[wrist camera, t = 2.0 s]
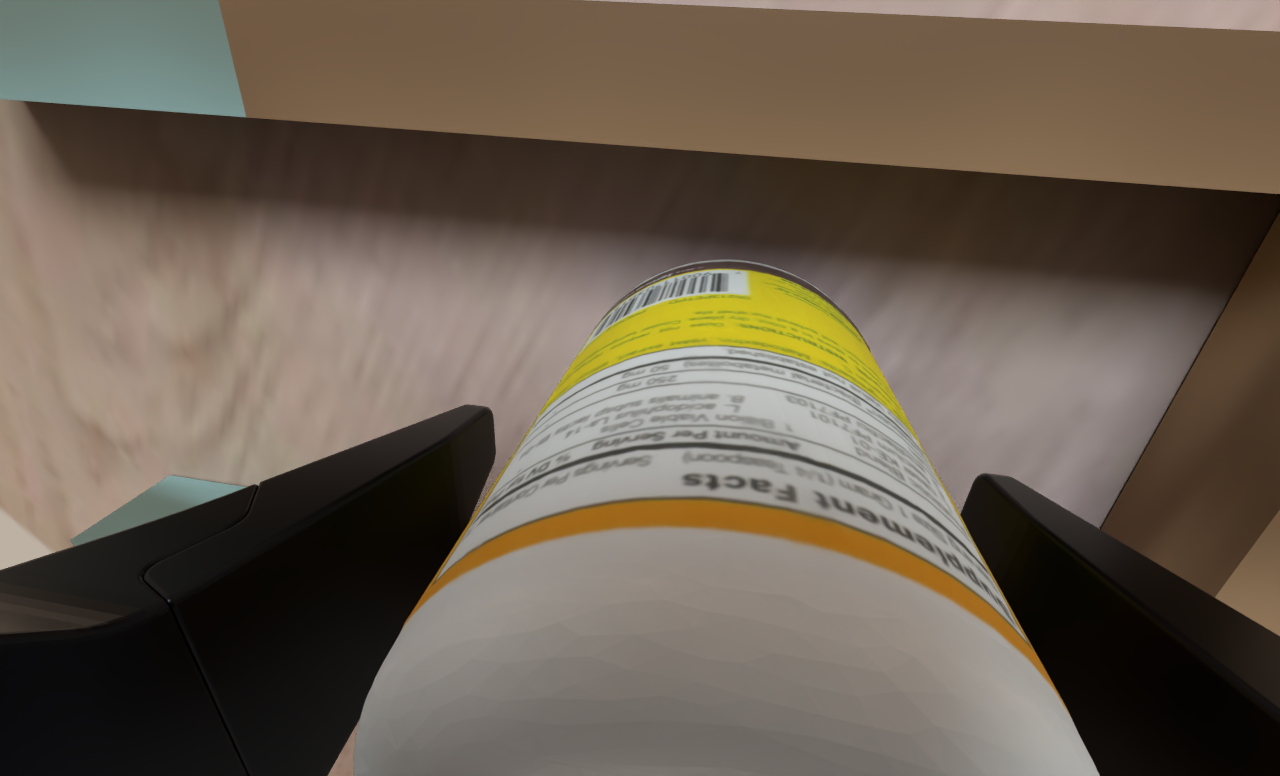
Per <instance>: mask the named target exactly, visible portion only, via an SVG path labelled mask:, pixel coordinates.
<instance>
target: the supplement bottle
mask: <svg viewBox="0 0 1280 776" xmlns="http://www.w3.org/2000/svg"><path fill="white" fill-rule="evenodd" d="M354 776H1100V775H1099V773H1098V771H1097V769H1096V767H1095V764H1094V762H1093V760H1092V758H1091V757H1090V755H1089V753H1088V751H1087V749H1086V747H1085V745H1084V743H1083V741H1082V739H1081V737H1080V735H1079V733H1078V731H1077V729H1076V727H1075V725H1074V723H1073V720H1072V718H1071V716H1070V714H1069V712H1068V710H1067V707H1066V706H1065V704H1064V702H1063V700H1062V699H1061V697H1060V695H1059V693H1058V691H1057V690H1056V688H1055V686H1054V684H1053V683H1052V681H1051V679H1050V677H1049V675H1048V674H1047V672H1046V670H1045V668H1044V667H1043V665H1042V663H1041V661H1040V659H1039V658H1038V656H1037V654H1036V652H1035V651H1034V649H1033V647H1032V645H1031V644H1030V642H1029V640H1028V638H1027V636H1026V635H1025V633H1024V631H1023V629H1022V627H1021V626H1020V624H1019V622H1018V620H1017V618H1016V617H1015V615H1014V613H1013V611H1012V609H1011V607H1010V606H1009V604H1008V602H1007V600H1006V598H1005V597H1004V595H1003V593H1002V591H1001V589H1000V588H999V586H998V584H997V582H996V580H995V579H994V577H993V575H992V573H991V571H990V570H989V568H988V566H987V564H986V562H985V561H984V559H983V557H982V555H981V553H980V552H979V550H978V548H977V546H976V545H975V543H974V541H973V539H972V537H971V535H970V533H969V531H968V529H967V527H966V525H965V523H964V521H963V519H962V517H961V516H960V514H959V512H958V510H957V508H956V506H955V504H954V503H953V501H952V499H951V497H950V496H949V494H948V492H947V490H946V489H945V487H944V485H943V483H942V482H941V480H940V478H939V476H938V475H937V473H936V471H935V469H934V468H933V466H932V464H931V462H930V460H929V459H928V457H927V455H926V453H925V451H924V449H923V447H922V446H921V444H920V442H919V440H918V438H917V436H916V434H915V433H914V431H913V429H912V427H911V425H910V423H909V421H908V419H907V417H906V416H905V414H904V412H903V410H902V408H901V406H900V405H899V403H898V401H897V400H896V398H895V396H894V394H893V392H892V390H891V388H890V387H889V385H888V383H887V381H886V379H885V377H884V376H883V374H882V372H881V370H880V368H879V367H878V365H877V363H876V361H875V359H874V357H873V356H872V354H871V351H870V349H869V347H868V345H867V343H866V342H865V340H864V339H863V337H862V335H861V334H860V332H859V331H858V329H857V327H856V326H855V325H854V324H853V322H852V321H851V320H850V319H849V317H848V316H847V315H846V314H845V313H844V312H843V310H842V309H841V308H840V307H839V306H838V305H837V304H836V303H835V302H834V301H833V300H832V299H831V298H829V297H828V296H827V295H826V294H824V293H823V292H822V291H821V290H819V289H818V288H817V287H815V286H814V285H812V284H810V283H809V282H807V281H806V280H804V279H802V278H800V277H798V276H796V275H794V274H792V273H789V272H787V271H784V270H782V269H779V268H776V267H772V266H769V265H765V264H761V263H756V262H751V261H743V260H729V259H725V260H708V261H700V262H694V263H689V264H685V265H681V266H678V267H674V268H672V269H669V270H667V271H664V272H662V273H659V274H657V275H655V276H653V277H651V278H649V279H647V280H645V281H644V282H642V283H641V284H639V285H637V286H636V287H635V288H633V289H632V290H631V291H630V292H628V293H627V294H626V295H625V296H623V297H622V298H621V299H620V300H619V301H618V302H617V303H616V304H615V305H614V306H613V307H612V308H611V309H610V310H609V311H608V312H607V314H606V315H605V316H604V317H603V318H602V320H601V321H600V323H599V324H598V325H597V326H596V328H595V329H594V331H593V332H592V334H591V335H590V337H589V338H588V340H587V341H586V343H585V344H584V346H583V347H582V349H581V350H580V352H579V354H578V355H577V357H576V358H575V360H574V361H573V363H572V364H571V366H570V367H569V369H568V370H567V372H566V374H565V375H564V377H563V378H562V380H561V381H560V383H559V384H558V386H557V387H556V389H555V390H554V392H553V394H552V395H551V397H550V398H549V400H548V401H547V403H546V404H545V406H544V407H543V409H542V410H541V412H540V414H539V415H538V417H537V418H536V420H535V421H534V423H533V424H532V426H531V427H530V429H529V430H528V432H527V434H526V435H525V437H524V439H523V440H522V442H521V443H520V445H519V446H518V448H517V449H516V451H515V452H514V454H513V455H512V457H511V459H510V460H509V462H508V463H507V465H506V466H505V468H504V469H503V471H502V472H501V474H500V475H499V477H498V478H497V480H496V481H495V483H494V485H493V486H492V488H491V489H490V491H489V492H488V494H487V495H486V497H485V499H484V500H483V502H482V503H481V505H480V506H479V508H478V510H477V511H476V513H475V514H474V516H473V517H472V519H471V521H470V522H469V524H468V525H467V527H466V528H465V530H464V531H463V533H462V535H461V536H460V538H459V539H458V541H457V542H456V544H455V546H454V547H453V549H452V550H451V552H450V553H449V555H448V556H447V558H446V560H445V561H444V563H443V564H442V566H441V567H440V569H439V570H438V572H437V574H436V575H435V577H434V578H433V580H432V581H431V583H430V584H429V586H428V588H427V589H426V591H425V592H424V594H423V595H422V597H421V599H420V600H419V602H418V603H417V605H416V607H415V608H414V610H413V611H412V613H411V614H410V616H409V617H408V619H407V620H406V622H405V623H404V625H403V628H402V630H401V632H400V634H399V636H398V638H397V639H396V641H395V643H394V645H393V646H392V648H391V650H390V652H389V653H388V655H387V657H386V658H385V660H384V662H383V664H382V666H381V667H380V669H379V671H378V673H377V675H376V677H375V679H374V682H373V685H372V687H371V689H370V691H369V693H368V695H367V697H366V700H365V703H364V706H363V709H362V713H361V717H360V721H359V725H358V729H357V733H356V738H355V749H354Z"/></svg>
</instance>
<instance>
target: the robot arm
mask: <svg viewBox="0 0 1280 776" xmlns="http://www.w3.org/2000/svg"><path fill="white" fill-rule="evenodd" d="M495 454H496V447H495V433H494V419H493V414H492V411H491V410H490V409H489V408H488V407H484V406H476V405H463V406H461V407H458V408H455V409H453V410H450V411H447V412H445V413H442V414H439V415H437V416H434V417H431V418H429V419H426V420H423V421H421V422H418V423H416V424H413V425H410V426H408V427H405V428H402V429H400V430H397V431H394V432H392V433H389V434H386V435H384V436H381V437H378V438H376V439H373V440H371V441H368V442H365V443H363V444H360V445H357V446H355V447H352V448H349V449H347V450H344V451H341V452H339V453H336V454H333V455H331V456H328V457H326V458H323V459H320V460H318V461H315V462H312V463H310V464H307V465H304V466H302V467H299V468H296V469H294V470H291V471H288V472H286V473H283V474H281V475H278V476H275V477H273V478H270V479H267V480H265V481H262V482H260V484H259V486H258V485H255V484H254V485H251V486H248V487H246V488H243V489H240V490H238V491H235V492H233V493H230V494H227V495H224V496H222V497H219V498H216V499H213V500H211V501H208V502H205V503H202V504H200V505H197V506H194V507H191V508H189V509H186V510H183V511H180V512H177V513H174V514H171V515H168V516H165V517H162V518H159V519H156V520H153V521H150V522H147V523H144V524H141V525H138V526H135V527H132V528H129V529H126V530H123V531H120V532H117V533H114V534H111V535H108V536H104V537H101V538H98V539H95V540H92V541H89V542H86V543H83V544H80V545H77V546H74V547H70V548H67V549H64V550H61V551H58V552H55V553H52V554H49V555H46V556H43V557H40V558H37V559H33V560H30V561H27V562H24V563H21V564H18V565H15V566H12V567H9V568H5V569H2V570H0V776H328V774H329V772H330V770H331V769H332V767H333V765H334V763H335V761H336V760H337V758H338V756H339V754H340V753H341V751H342V749H343V747H344V746H345V744H346V742H347V740H348V739H349V737H350V735H351V733H352V732H353V730H354V728H355V726H356V724H357V723H358V721H359V719H360V717H361V713H362V709H363V706H364V703H365V700H366V697H367V695H368V693H369V691H370V689H371V687H372V685H373V682H374V679H375V677H376V675H377V673H378V671H379V669H380V667H381V666H382V664H383V662H384V660H385V658H386V657H387V655H388V653H389V652H390V650H391V648H392V646H393V645H394V643H395V641H396V639H397V638H398V636H399V634H400V632H401V630H402V628H403V625H404V623H405V622H406V620H407V619H408V617H409V616H410V614H411V613H412V611H413V610H414V608H415V607H416V605H417V603H418V602H419V600H420V599H421V597H422V595H423V594H424V592H425V591H426V589H427V588H428V586H429V584H430V583H431V581H432V580H433V578H434V577H435V575H436V574H437V572H438V570H439V569H440V567H441V566H442V564H443V563H444V561H445V560H446V558H447V556H448V555H449V553H450V552H451V550H452V549H453V547H454V546H455V544H456V542H457V541H458V539H459V538H460V536H461V535H462V533H463V531H464V530H465V528H466V527H467V525H468V523H469V521H470V518H471V516H472V514H473V511H474V509H475V507H476V504H477V502H478V499H479V497H480V495H481V492H482V490H483V488H484V485H485V483H486V480H487V478H488V476H489V473H490V471H491V469H492V466H493V463H494V460H495ZM960 516H961V517H962V519H963V521H964V523H965V525H966V527H967V529H968V531H969V533H970V535H971V537H972V539H973V541H974V543H975V545H976V546H977V548H978V550H979V552H980V553H981V555H982V557H983V559H984V561H985V562H986V564H987V566H988V568H989V570H990V571H991V573H992V575H993V577H994V579H995V580H996V582H997V584H998V586H999V588H1000V589H1001V591H1002V593H1003V595H1004V597H1005V598H1006V600H1007V602H1008V604H1009V606H1010V607H1011V609H1012V611H1013V613H1014V615H1015V617H1016V618H1017V620H1018V622H1019V624H1020V626H1021V627H1022V629H1023V631H1024V633H1025V635H1026V636H1027V638H1028V640H1029V642H1030V644H1031V645H1032V647H1033V649H1034V651H1035V652H1036V654H1037V656H1038V658H1039V659H1040V661H1041V663H1042V665H1043V667H1044V668H1045V670H1046V672H1047V674H1048V675H1049V677H1050V679H1051V681H1052V683H1053V684H1054V686H1055V688H1056V690H1057V691H1058V693H1059V695H1060V697H1061V699H1062V700H1063V702H1064V704H1065V706H1066V707H1067V710H1068V712H1069V714H1070V716H1071V718H1072V720H1073V723H1074V725H1075V727H1076V729H1077V731H1078V733H1079V735H1080V737H1081V739H1082V741H1083V743H1084V745H1085V747H1086V749H1087V751H1088V753H1089V755H1090V757H1091V758H1092V760H1093V762H1094V764H1095V767H1096V769H1097V771H1098V773H1099V775H1100V776H1280V636H1279V635H1277V634H1275V633H1274V632H1272V631H1270V630H1269V629H1267V628H1265V627H1264V626H1262V625H1260V624H1259V623H1257V622H1255V621H1254V620H1252V619H1250V618H1248V617H1247V616H1245V615H1243V614H1242V613H1240V612H1238V611H1237V610H1235V609H1233V608H1232V607H1230V606H1228V605H1227V604H1225V603H1223V602H1221V601H1220V600H1218V599H1216V598H1215V597H1213V596H1211V595H1210V594H1208V593H1206V592H1205V591H1203V590H1201V589H1200V588H1198V587H1196V586H1195V585H1193V584H1191V583H1189V582H1188V581H1186V580H1184V579H1183V578H1181V577H1179V576H1178V575H1176V574H1174V573H1173V572H1171V571H1169V570H1168V569H1166V568H1164V567H1162V566H1161V565H1159V564H1157V563H1156V562H1154V561H1152V560H1151V559H1149V558H1147V557H1146V556H1144V555H1142V554H1141V553H1139V552H1137V551H1135V550H1134V549H1132V548H1130V547H1129V546H1127V545H1125V544H1124V543H1122V542H1120V541H1119V540H1117V539H1115V538H1114V537H1112V536H1110V535H1109V534H1107V533H1105V532H1103V531H1102V530H1100V529H1098V528H1097V527H1095V526H1093V525H1092V524H1090V523H1088V522H1087V521H1085V520H1083V519H1082V518H1080V517H1078V516H1076V515H1075V514H1073V513H1071V512H1070V511H1068V510H1066V509H1065V508H1063V507H1061V506H1060V505H1058V504H1056V503H1055V502H1053V501H1051V500H1049V499H1048V498H1046V497H1044V496H1043V495H1041V494H1039V493H1038V492H1036V491H1034V490H1033V489H1031V488H1029V487H1028V486H1026V485H1024V484H1022V483H1021V482H1019V481H1017V480H1016V479H1014V478H1012V477H1009V476H1003V475H996V474H988V473H983V474H981V475H979V476H977V478H976V479H975V480H974V482H973V485H972V487H971V489H970V492H969V494H968V497H967V499H966V502H965V504H964V506H963V509H962V511H961V514H960Z"/></svg>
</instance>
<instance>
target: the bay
mask: <svg viewBox="0 0 1280 776" xmlns="http://www.w3.org/2000/svg"><path fill="white" fill-rule="evenodd" d="M0 99H6V100H19V101H33V102H46V103H60V104H73V105H87V106H100V107H114V108H127V109H141V110H154V111H168V112H181V113H195V114H208V115H221V116H235V117H248V118H262V119H275V120H289V121H302V122H316V123H329V124H343V125H356V126H370V127H383V128H397V129H410V130H423V131H437V132H450V133H464V134H477V135H491V136H504V137H518V138H531V139H545V140H558V141H572V142H585V143H599V144H612V145H625V146H639V147H652V148H666V149H679V150H693V151H706V152H720V153H733V154H747V155H760V156H774V157H787V158H801V159H814V160H827V161H841V162H854V163H868V164H881V165H895V166H908V167H922V168H935V169H949V170H962V171H976V172H989V173H1002V174H1016V175H1029V176H1043V177H1056V178H1070V179H1083V180H1097V181H1110V182H1124V183H1137V184H1151V185H1164V186H1178V187H1191V188H1204V189H1218V190H1231V191H1245V192H1258V193H1272V194H1280V32H1274V31H1252V30H1230V29H1207V28H1185V27H1163V26H1141V25H1118V24H1096V23H1074V22H1052V21H1029V20H1007V19H985V18H963V17H940V16H918V15H896V14H874V13H851V12H829V11H807V10H785V9H762V8H740V7H718V6H696V5H673V4H651V3H629V2H607V1H584V0H0ZM243 488H246V487H242V486H236V485H229V484H223V483H217V482H210V481H204V480H198V479H191V478H185V477H178V476H172V475H169V476H168V477H166V478H165V479H163V480H162V481H160V482H159V483H157V484H156V485H154V486H153V487H151V488H149V489H148V490H146V491H145V492H143V493H142V494H140V495H139V496H137V497H136V498H134V499H133V500H131V501H130V502H128V503H126V504H125V505H123V506H122V507H120V508H119V509H117V510H116V511H114V512H113V513H111V514H110V515H108V516H107V517H105V518H104V519H102V520H100V521H99V522H97V523H96V524H94V525H93V526H91V527H90V528H88V529H87V530H85V531H84V532H82V533H81V534H79V535H78V536H76V537H74V538H73V539H71V542H72V544H73V546H77V545H80V544H83V543H86V542H89V541H92V540H95V539H98V538H101V537H104V536H108V535H111V534H114V533H117V532H120V531H123V530H126V529H129V528H132V527H135V526H138V525H141V524H144V523H147V522H150V521H153V520H156V519H159V518H162V517H165V516H168V515H171V514H174V513H177V512H180V511H183V510H186V509H189V508H191V507H194V506H197V505H200V504H202V503H205V502H208V501H211V500H213V499H216V498H219V497H222V496H224V495H227V494H230V493H233V492H235V491H238V490H240V489H243ZM468 524H469V523H468ZM1101 530H1102V531H1103V532H1105V533H1107V534H1109V535H1110V536H1112V537H1114V538H1115V539H1117V540H1119V541H1120V542H1122V543H1124V544H1125V545H1127V546H1129V547H1130V548H1132V549H1134V550H1135V551H1137V552H1139V553H1141V554H1142V555H1144V556H1146V557H1147V558H1149V559H1151V560H1152V561H1154V562H1156V563H1157V564H1159V565H1161V566H1162V567H1164V568H1166V569H1168V570H1169V571H1171V572H1173V573H1174V574H1176V575H1178V576H1179V577H1181V578H1183V579H1184V580H1186V581H1188V582H1189V583H1191V584H1193V585H1195V586H1196V587H1198V588H1200V589H1201V590H1203V591H1205V592H1206V593H1208V594H1210V595H1211V596H1213V597H1215V598H1216V599H1218V600H1220V601H1221V602H1223V603H1225V604H1227V605H1228V606H1230V607H1232V608H1233V609H1235V610H1237V611H1238V612H1240V613H1242V614H1243V615H1245V616H1247V617H1248V618H1250V619H1252V620H1254V621H1255V622H1257V623H1259V624H1260V625H1262V626H1264V627H1265V628H1267V629H1269V630H1270V631H1272V632H1274V633H1275V634H1277V635H1279V636H1280V212H1279V214H1278V216H1277V217H1276V219H1275V221H1274V223H1273V225H1272V226H1271V228H1270V230H1269V232H1268V233H1267V235H1266V237H1265V239H1264V240H1263V242H1262V244H1261V246H1260V248H1259V249H1258V251H1257V253H1256V255H1255V256H1254V258H1253V260H1252V262H1251V264H1250V265H1249V267H1248V269H1247V271H1246V272H1245V274H1244V276H1243V278H1242V280H1241V281H1240V283H1239V285H1238V287H1237V288H1236V290H1235V292H1234V294H1233V295H1232V297H1231V299H1230V301H1229V303H1228V304H1227V306H1226V308H1225V310H1224V311H1223V313H1222V315H1221V317H1220V319H1219V320H1218V322H1217V324H1216V326H1215V327H1214V329H1213V331H1212V333H1211V334H1210V336H1209V338H1208V340H1207V342H1206V343H1205V345H1204V347H1203V349H1202V350H1201V352H1200V354H1199V356H1198V358H1197V359H1196V361H1195V363H1194V365H1193V366H1192V368H1191V370H1190V372H1189V373H1188V375H1187V377H1186V379H1185V381H1184V382H1183V384H1182V386H1181V388H1180V389H1179V391H1178V393H1177V395H1176V397H1175V398H1174V400H1173V402H1172V404H1171V405H1170V407H1169V409H1168V411H1167V413H1166V414H1165V416H1164V418H1163V420H1162V421H1161V423H1160V425H1159V427H1158V428H1157V430H1156V432H1155V434H1154V436H1153V437H1152V439H1151V441H1150V443H1149V444H1148V446H1147V448H1146V450H1145V452H1144V453H1143V455H1142V457H1141V459H1140V460H1139V462H1138V464H1137V466H1136V467H1135V469H1134V471H1133V473H1132V475H1131V476H1130V478H1129V480H1128V482H1127V483H1126V485H1125V487H1124V489H1123V491H1122V492H1121V494H1120V496H1119V498H1118V499H1117V501H1116V503H1115V505H1114V507H1113V508H1112V510H1111V512H1110V514H1109V515H1108V517H1107V519H1106V521H1105V522H1104V524H1103V526H1102V528H1101Z"/></svg>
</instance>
